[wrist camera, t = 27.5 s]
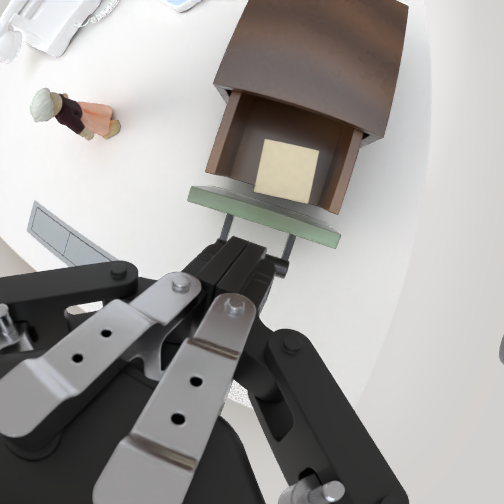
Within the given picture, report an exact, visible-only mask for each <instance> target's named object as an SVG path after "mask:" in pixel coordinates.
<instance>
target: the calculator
mask: <svg viewBox="0 0 504 504" xmlns="http://www.w3.org/2000/svg"><path fill="white" fill-rule="evenodd" d="M160 1H162V2H163V3H164V4H166V5H167V6H168V7H170V8H171V9H173V10H174V11H177V12H183V11H186V10H187V9H189V8H191V7H192V6H194V5H195V4H197V3H198V2H200V1H202V0H160Z"/></svg>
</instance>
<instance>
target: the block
mask: <svg viewBox="0 0 504 504" xmlns="http://www.w3.org/2000/svg"><path fill="white" fill-rule="evenodd" d="M318 155H319V151H317V150H313V149H309V148H305V147H301V146H296V145H292V144H287V143H283V142H278V141H273V140H268V139H265V140H264V145H263V150H262V154H261V159H260V164H259V169H258V173H257V178H256V183H255V188H254V192H255V193H260V194H265V195H269V196H274V197H278V198H283V199H287V200H292V201H296V202H300V203H305V204H308V202H309V197H310V193H311V188H312V184H313V179H314V174H315V170H316V165H317V160H318Z"/></svg>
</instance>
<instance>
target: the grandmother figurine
mask: <svg viewBox="0 0 504 504" xmlns="http://www.w3.org/2000/svg"><path fill="white" fill-rule="evenodd" d="M30 113H31V115H32V117H33V118H34V121H35V122H39V121H41V122H43V121H48V120H50V119H51V118H52V117H54V116H55V118H56V119H57V121H58V122H59V123H60V124H63V125H66V126H67V127H68V128H70V129H71V130H73V131H74V132H75V133H76V134H79V135H80V136H82V137H85V139H87V140H91V139H92V138H93V137H94V133H95V134H98V135H102V136H103V138H105V139H108V138H110V137H112V136H114V135H115V134H117V133H118V132H119V130H120V123H119V121H118V120H110V118H111V116H112V109H111V107H109V106H106V105H102V104H96V103H86V102H76V101H73V100H70V99H68V95H67V94H57V93H54V92H50V90H49V89H48V88H43V89H41V90H39V91H38V92H37V93H36V95H35V96H34V98H33V100H32V103H31V106H30Z"/></svg>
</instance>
